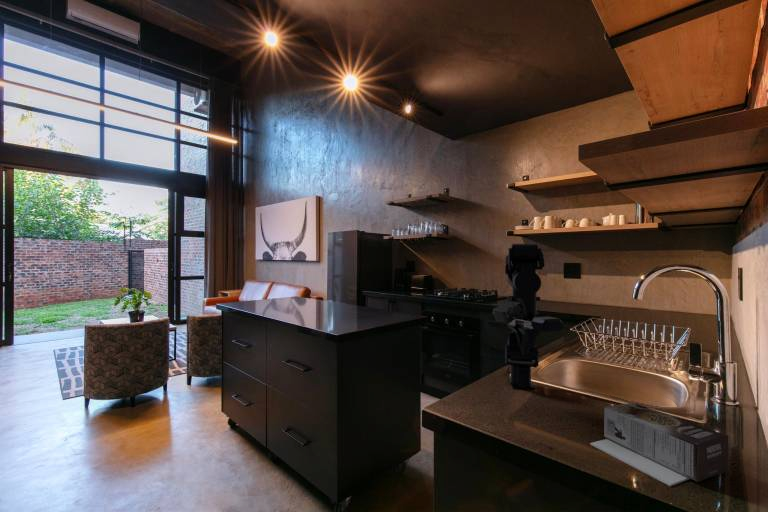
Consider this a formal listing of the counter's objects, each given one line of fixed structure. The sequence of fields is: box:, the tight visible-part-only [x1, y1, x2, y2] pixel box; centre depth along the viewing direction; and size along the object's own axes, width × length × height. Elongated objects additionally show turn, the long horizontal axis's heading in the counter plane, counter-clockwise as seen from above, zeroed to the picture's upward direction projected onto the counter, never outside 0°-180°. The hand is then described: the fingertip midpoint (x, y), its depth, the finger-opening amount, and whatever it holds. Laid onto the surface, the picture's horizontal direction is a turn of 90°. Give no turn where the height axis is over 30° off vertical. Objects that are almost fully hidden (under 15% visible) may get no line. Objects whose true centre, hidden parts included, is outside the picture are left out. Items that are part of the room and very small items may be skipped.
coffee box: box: [603, 401, 730, 483], centre depth 66 cm, size 9×6×16 cm
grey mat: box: [589, 438, 691, 487], centre depth 66 cm, size 14×14×1 cm
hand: (524, 353), depth 89 cm, fingers closed
